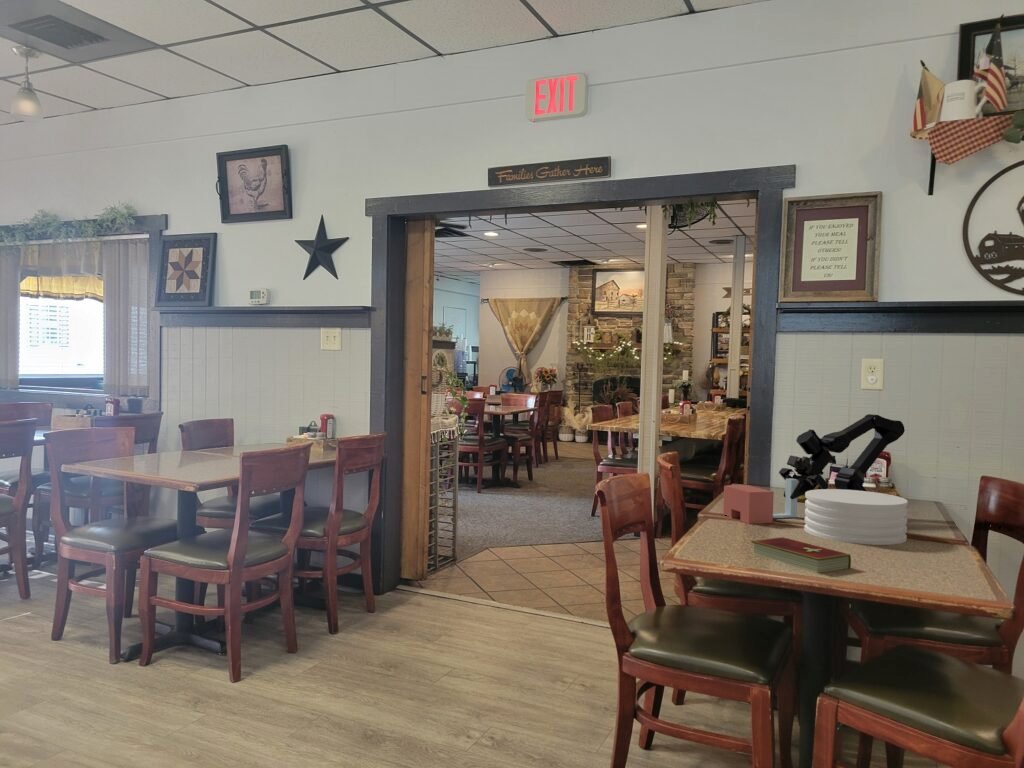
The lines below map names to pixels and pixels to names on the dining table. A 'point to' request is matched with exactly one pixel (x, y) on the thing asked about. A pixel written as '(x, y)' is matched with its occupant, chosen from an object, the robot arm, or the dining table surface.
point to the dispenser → (748, 503)
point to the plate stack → (856, 516)
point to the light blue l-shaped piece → (789, 500)
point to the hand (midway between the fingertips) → (787, 497)
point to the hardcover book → (801, 554)
